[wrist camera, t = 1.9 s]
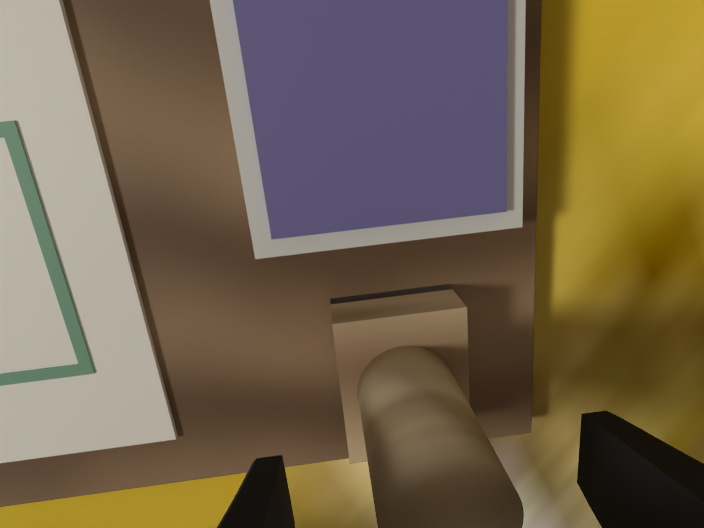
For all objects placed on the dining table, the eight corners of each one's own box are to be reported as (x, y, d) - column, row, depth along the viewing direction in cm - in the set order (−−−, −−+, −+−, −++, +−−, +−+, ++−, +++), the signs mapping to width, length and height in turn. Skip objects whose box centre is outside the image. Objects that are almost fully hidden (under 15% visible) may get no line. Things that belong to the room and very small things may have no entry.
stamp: (452, 409, 17) (544, 599, 10) (345, 424, 17) (366, 627, 10) (448, 283, 15) (551, 410, 9) (329, 298, 15) (341, 438, 8)
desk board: (519, 416, 18) (531, 432, 17) (-176, 512, 17) (-205, 535, 16) (527, -122, 13) (544, -141, 12) (-498, -33, 12) (-571, -47, 11)
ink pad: (506, 219, 15) (526, 229, 13) (259, 248, 14) (254, 262, 13) (507, -115, 12) (533, -147, 11) (202, -88, 12) (186, -118, 10)
